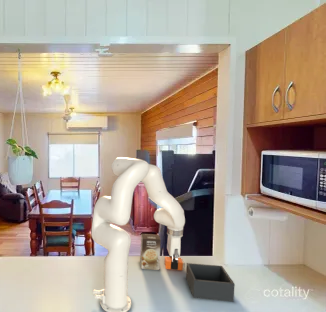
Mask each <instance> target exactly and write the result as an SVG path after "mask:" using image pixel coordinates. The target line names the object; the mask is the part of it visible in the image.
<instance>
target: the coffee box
mask: <svg viewBox="0 0 326 312" xmlns="http://www.w3.org/2000/svg"><path fill="white" fill-rule="evenodd" d="M161 241H162V240H161V237H160V235H159V234H151V233H140V253H139V254H140V257H139V264H140V265H139V266H140V268H141V270H155V271H159V270H160V264H161V263H160V261H161Z"/></svg>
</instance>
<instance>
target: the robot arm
mask: <svg viewBox="0 0 326 312" xmlns="http://www.w3.org/2000/svg"><path fill="white" fill-rule="evenodd" d="M110 168H111V171H112V173H113V174H114V175H115V177H117V178H116V179H115V180H114V182H113V184H112V187H111V192H110V196H108V195H103V196H101V197H99V198H98V199H97V200H96V202H95V204H94V207H93V211H92V212H93V213H92V221H91V239H92V240H93V242H94V243H96V244H97V245H99V246H101V247H103V248H104V249H106V250H107V254H106V256H105V257H104V260H103V289H99V290H98V289H93V291H92V295H93V296H94V298H95V300H99V305H100V307H101V308H102V309H103V310H104V311H105V312H128V311H129V310H130V309H131V308H132V300H131V298H130V296H129V295H128V293H129V292H128V290H129V289H128V288H129V287H128V286H129V285H128V284H129V255H130V250H131V245H132V238H131V235H130V233H128V231H126V230H125V229H124V228H121V227H119V226H126V225H127V224H128V223H129V222H130V217H131V212H132V206H133V205H132V204H133V197H134V191H135V189H136V187H137V186H138V185H139V184H140V183H142V184H143V186H144V188H145V190H146V194H147V195H148V198H149V199H150V200H151V201H152V202H153V203H155V204H156V205H157V206H159V208H157V209H156V210H155V211H154V213H153V219H154V221H155V222H156V223H158V224H160V225H162V226H166V234H167V243H166V249H167V252H168V255H169V256H168V257H172V261H171V269H170V270H173V269H174V270H175V271H179V270H178V258H180V256H181V248H182V247H181V244H182V243H181V242H182V241H181V239H182V237H183V236H184V235H183V234H184V227H185V224H186V218H185V210H184V209H183V207H182V205H181V204H180V203H179V201H177V199H176V198H175V197H174V196H173V195H172V194H170V193H169V192H168V190H167V187H166V183H165V180H164V177H163V176H162V172H161V170H160V168H159V167H158V166H157V165H155V164H151V163H149V162H147V161H146V160H144V159H141V158H133V157H123V156H119V157H116V158H115V159H114V160H112V163H111V167H110ZM160 207H161V208H160ZM173 257H175V258H174V259H173ZM174 270H173V271H174Z"/></svg>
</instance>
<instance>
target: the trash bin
mask: <svg viewBox="0 0 326 312" xmlns="http://www.w3.org/2000/svg"><path fill="white" fill-rule="evenodd" d="M185 269H186V271H185V280H186V282H187V285H188V287H189V290H190V292H191V295H192V298H193V299H202V300H213V301H219V302H220V301H221V302H231V303H234V302H235V300H234V299H235V286H236V285H235V282H234V281H233V279H232V278H231V277H230V275H229V273H228V272H227V271H226V269H225V268H224V266H222V265H217V264H216V265H215V264H202V263H188V262H186V268H185Z"/></svg>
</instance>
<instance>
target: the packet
mask: <svg viewBox="0 0 326 312" xmlns="http://www.w3.org/2000/svg"><path fill="white" fill-rule="evenodd" d="M174 258H175V257H173V259H174ZM171 261H172V257H169V256H164V267H165V270H173V271H174V269H171ZM185 267H186V263H185V260H184V259H183V258H182V257H178V270H177V271H183V270H184V271H185V269H186V268H185Z"/></svg>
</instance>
